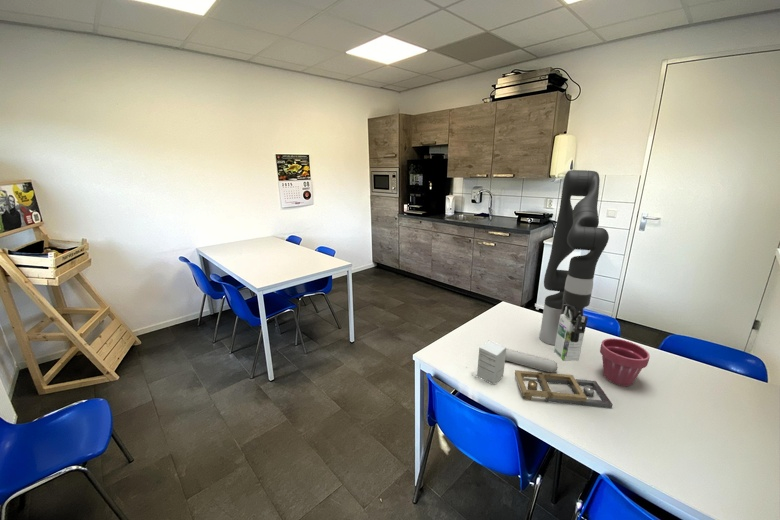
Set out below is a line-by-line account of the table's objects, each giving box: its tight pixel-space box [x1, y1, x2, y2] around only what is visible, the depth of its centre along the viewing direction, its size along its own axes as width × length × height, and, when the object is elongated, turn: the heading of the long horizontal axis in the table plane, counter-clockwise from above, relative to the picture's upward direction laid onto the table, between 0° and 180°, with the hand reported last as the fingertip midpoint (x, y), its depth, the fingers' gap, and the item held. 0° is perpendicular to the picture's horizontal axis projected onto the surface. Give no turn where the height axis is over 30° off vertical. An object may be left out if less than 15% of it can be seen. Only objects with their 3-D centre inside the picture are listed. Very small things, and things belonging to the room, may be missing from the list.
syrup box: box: [553, 314, 585, 362], centre depth 106 cm, size 6×6×14 cm
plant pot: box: [599, 338, 651, 387], centre depth 117 cm, size 14×14×13 cm
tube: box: [505, 347, 559, 374], centre depth 127 cm, size 5×5×25 cm
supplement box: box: [476, 339, 507, 386], centre depth 118 cm, size 7×7×13 cm
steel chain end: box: [536, 378, 613, 409], centre depth 111 cm, size 12×20×2 cm, turn 81°
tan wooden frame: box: [514, 369, 588, 402], centre depth 112 cm, size 12×20×3 cm, turn 81°
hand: (569, 335), depth 106 cm, fingers closed on syrup box, 6 cm apart
